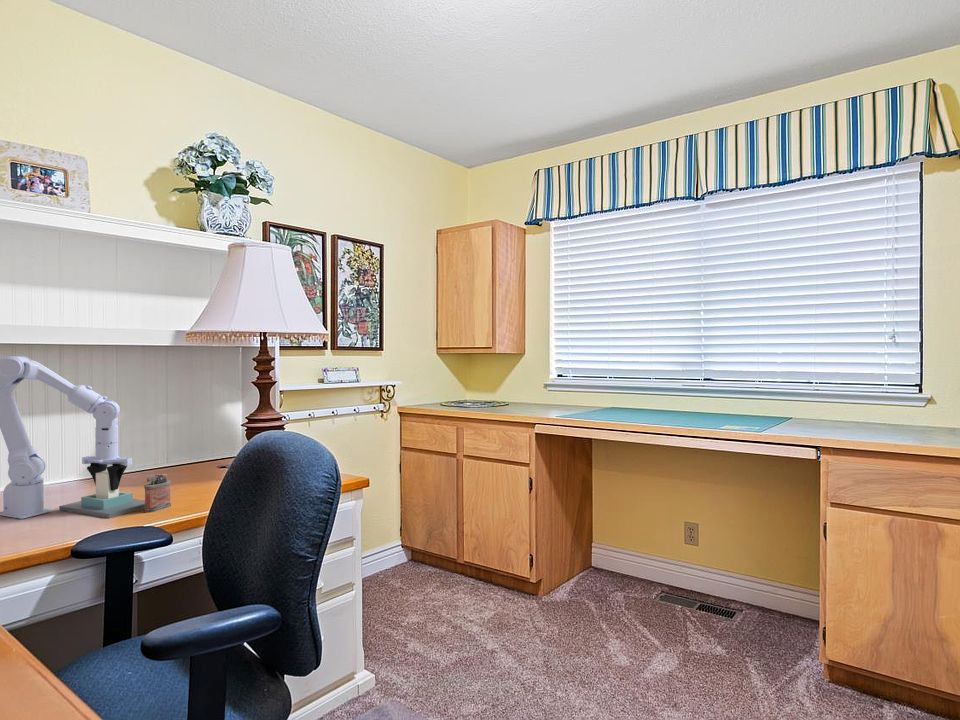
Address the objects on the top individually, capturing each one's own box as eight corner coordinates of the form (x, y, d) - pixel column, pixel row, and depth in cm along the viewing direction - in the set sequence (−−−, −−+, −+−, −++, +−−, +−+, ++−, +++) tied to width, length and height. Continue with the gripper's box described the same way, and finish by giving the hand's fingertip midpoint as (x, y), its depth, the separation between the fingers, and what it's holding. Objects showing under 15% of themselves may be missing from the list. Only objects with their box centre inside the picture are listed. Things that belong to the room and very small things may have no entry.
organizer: (59, 510, 170) (59, 497, 170) (105, 498, 184) (105, 486, 183) (109, 518, 163) (109, 504, 163) (153, 505, 176) (153, 493, 176)
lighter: (165, 504, 177) (165, 471, 177) (173, 506, 176) (173, 472, 176) (141, 511, 170) (141, 476, 170) (149, 513, 169) (149, 477, 168)
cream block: (95, 500, 172) (95, 473, 172) (106, 497, 176) (106, 470, 176) (108, 501, 171) (108, 473, 171) (118, 498, 175) (118, 470, 175)
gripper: (73, 444, 170) (73, 491, 170) (119, 445, 168) (119, 493, 168) (92, 440, 177) (93, 485, 177) (137, 441, 175) (137, 487, 175)
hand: (107, 489), depth 173 cm, fingers closed on cream block, 4 cm apart
